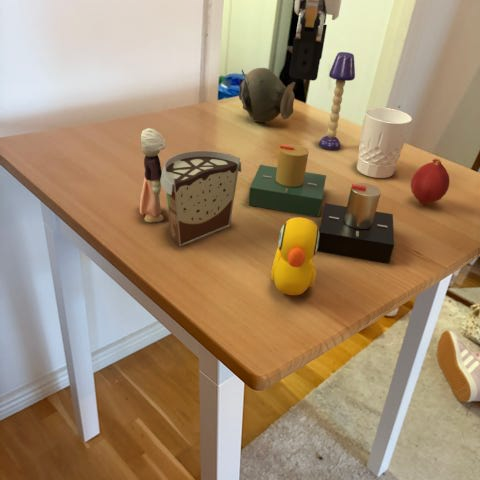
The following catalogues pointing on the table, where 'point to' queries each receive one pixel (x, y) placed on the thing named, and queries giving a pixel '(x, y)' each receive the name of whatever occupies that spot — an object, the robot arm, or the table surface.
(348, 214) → the dial
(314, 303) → the table surface
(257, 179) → the panel
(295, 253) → the duckling
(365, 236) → the panel
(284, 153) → the dial
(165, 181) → the food container
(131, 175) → the table surface
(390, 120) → the white cup
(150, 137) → the grandmother figurine
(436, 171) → the onion
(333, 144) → the toy lamp
